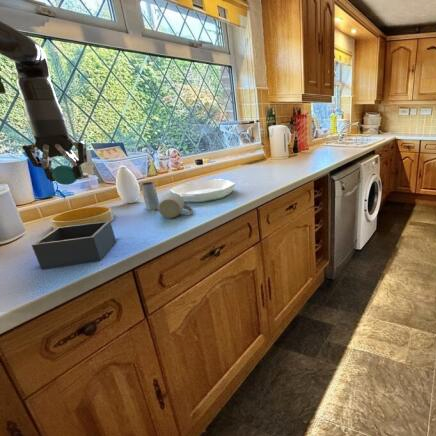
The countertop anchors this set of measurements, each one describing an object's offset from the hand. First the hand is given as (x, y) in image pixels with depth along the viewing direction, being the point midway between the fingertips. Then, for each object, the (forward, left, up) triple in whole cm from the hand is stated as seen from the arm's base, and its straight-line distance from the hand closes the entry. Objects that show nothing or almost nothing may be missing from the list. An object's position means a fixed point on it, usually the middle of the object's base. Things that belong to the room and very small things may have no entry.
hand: (66, 179), depth 87 cm
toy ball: (0, 0, -1) cm, 1 cm away
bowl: (-4, +12, -18) cm, 22 cm away
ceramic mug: (+25, +10, -18) cm, 32 cm away
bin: (+5, -16, -18) cm, 24 cm away
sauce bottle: (+4, +37, -18) cm, 41 cm away
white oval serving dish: (+33, +35, -18) cm, 51 cm away
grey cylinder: (+15, +22, -18) cm, 32 cm away
